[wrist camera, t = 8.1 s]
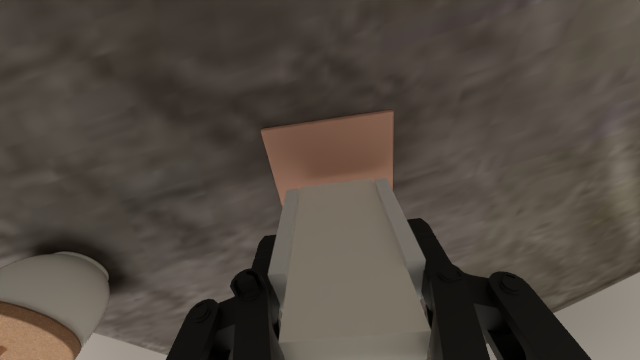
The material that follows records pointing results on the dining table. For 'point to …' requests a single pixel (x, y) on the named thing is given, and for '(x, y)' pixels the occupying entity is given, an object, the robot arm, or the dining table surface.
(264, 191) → the dining table surface
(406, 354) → the domino
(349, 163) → the strip
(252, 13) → the dining table surface
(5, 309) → the lidded jar
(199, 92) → the dining table surface
